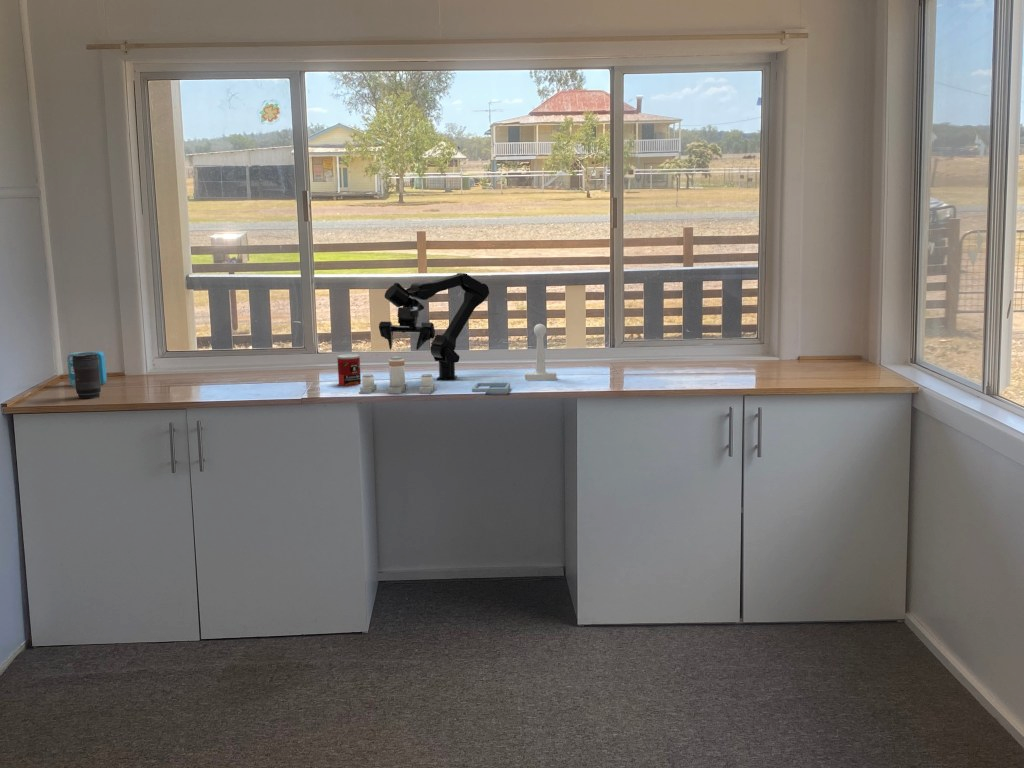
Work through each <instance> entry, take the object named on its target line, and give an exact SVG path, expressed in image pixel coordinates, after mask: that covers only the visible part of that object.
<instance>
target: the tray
mask: <svg viewBox="0 0 1024 768" xmlns="http://www.w3.org/2000/svg"><path fill="white" fill-rule="evenodd" d="M479 387H483V388H479ZM509 389H510V390H511V382H475V384H474V385H473V387H472V388H471V392H472V393H485V394H484V395H486V396H487V395H489V396H491V395H498V396H499V395H501V396H502V395H504V396H505V395H509V392H510V390H509ZM508 391H509V392H508Z"/></svg>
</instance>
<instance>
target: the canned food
mask: <svg viewBox="0 0 1024 768" xmlns="http://www.w3.org/2000/svg"><path fill="white" fill-rule="evenodd" d="M337 374H338V375H337V376H338V385H339V386H341V387H343V386H344V387H352V386H353V387H354V386H359V385H362V375H361V358H360V354H353V353H348V354H347V353H346V354H345V353H344V354H340V355H337Z"/></svg>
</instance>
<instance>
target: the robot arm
mask: <svg viewBox="0 0 1024 768" xmlns="http://www.w3.org/2000/svg"><path fill="white" fill-rule="evenodd" d="M456 287H460V288H461V290H462V291H463V292H464V293H463V302H462V303H461V305H460V307H459V308H458V309H457V312H456V313H455V314H454V317H453V318H452V320H451V321H450V323H449V325H448V327H447V328H446V330H445V331H444V333H442V334H436V330H435V325H434V323H433V322H431V321H430V322H428V321H427V322H426V321H425V322H424V321H423V322H421V326H417V324H418V317H419V315H420V314H419V313H420V312H421V311H423V310H424V309H425V307H424V305H423V304H422V303H421V302H420V300H421V301H422V300H423V301H426V300H428V299H431V298H432V297H434V296H435V295H436V294H437V293H439V292H440V293H441V292H443V291H446V290H449V289H453V288H456ZM489 294H490V288H489V287H488V285H487V284H486V283H483V282H481V281H479V280H478V279H475V278H473V277H471V276H470V275H469V274H467V273H465V272H457V273H456V274H453V275H450V276H446V277H444V278H440V279H436V280H434V281H433V280H432V281H425V282H424V281H423V282H422V281H421V282H413V283H411V284H410V287H407V288H404V287H403V286H402V285H401V284H400V283H399V282H394V283H393V285H391V286H389V288H388V289H387V290H386V291H385V293H384V298H385V299H386V300H388V302H390V303H391V304H392V305H394V306H395V307H396V308H397V318H398V319H397V323H398V324H399V325H393V323H392V321H382V320H381V321H380V322H379V324H378V329H379V332H380V333H379V334H380V337H382V338H384V340H385V339H386V340H387V343H388V346H389V350H392V348H393V343H394V342H393V341H394V337H393V336H394V332H395V333H396V332H397V333H398V332H399V333H403V334H404V333H405V334H419V335H418V339H417V342H416V347H415V349H416V350H417V351H419V349H420V348H421V347H422V346H423V345H424V344H425V343H426V342H427V341H429V340H431V339H433V341H432V342H430V346H429V347H430V349H429V350H430V353H431V356H432V357H433V360H434V361H435V362H438V374H439V376H437V377H436V379H446V380H456V379H457V377H458V375H456V369H455V368H456V367H455V364H456V363H459V360H460V358H461V357H460V355H459V354H458V353H457V352H456V351H455V350H456V347H457V346H456V345H457V339H458V337H459V335H460V334H461V332H462V331H463V328H464V327H465V325H466V324H467V322H468V321H469V319H470V318H471V316H472V314H473V312H474V311H475V309H476V308H477V307H478V306H480V305H481V304H483V302H485V300H486V299H487V298H488V296H489ZM435 334H436V335H435ZM455 378H456V379H455Z"/></svg>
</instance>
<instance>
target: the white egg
mask: <svg viewBox="0 0 1024 768" xmlns="http://www.w3.org/2000/svg"><path fill="white" fill-rule="evenodd" d="M374 384H375V376H374V374H371V373H367V374H366V373H365V374H362V375H361V385H362V386H361V387H372V392H374V391H375V388H374Z"/></svg>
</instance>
